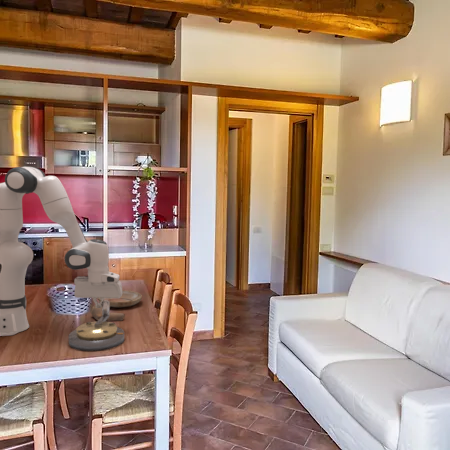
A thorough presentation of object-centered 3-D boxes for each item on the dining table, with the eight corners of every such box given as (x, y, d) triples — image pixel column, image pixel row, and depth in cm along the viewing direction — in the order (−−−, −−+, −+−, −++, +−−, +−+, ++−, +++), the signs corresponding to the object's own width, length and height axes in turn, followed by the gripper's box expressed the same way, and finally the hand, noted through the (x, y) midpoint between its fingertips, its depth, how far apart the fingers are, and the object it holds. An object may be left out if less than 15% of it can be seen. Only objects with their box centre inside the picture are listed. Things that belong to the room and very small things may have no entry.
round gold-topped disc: (111, 341, 171) (111, 316, 170) (70, 340, 171) (70, 315, 170) (125, 322, 194) (125, 300, 193) (89, 321, 194) (89, 299, 193)
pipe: (124, 312, 204) (126, 303, 213) (87, 312, 202) (91, 303, 211) (124, 324, 206) (126, 315, 215) (88, 325, 203) (91, 315, 213)
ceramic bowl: (97, 312, 218) (97, 302, 218) (97, 299, 241) (97, 290, 240) (144, 309, 225) (144, 300, 224) (139, 297, 247) (140, 289, 247)
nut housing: (71, 354, 165) (71, 346, 164) (66, 335, 185) (66, 328, 184) (129, 346, 174) (129, 338, 174) (118, 329, 194) (118, 322, 194)
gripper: (72, 277, 186) (72, 309, 187) (120, 278, 187) (120, 309, 188) (76, 274, 192) (76, 305, 194) (123, 275, 193) (123, 305, 195)
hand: (98, 307), depth 191 cm, fingers closed
